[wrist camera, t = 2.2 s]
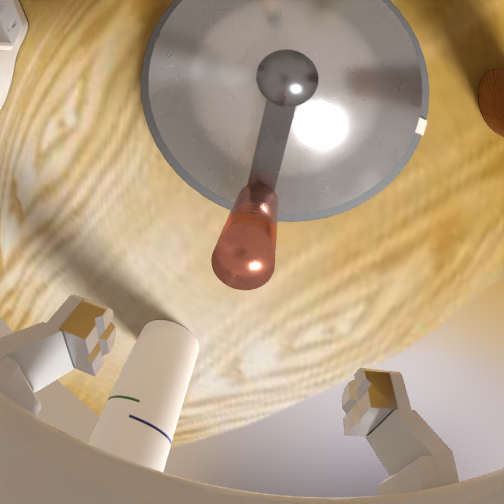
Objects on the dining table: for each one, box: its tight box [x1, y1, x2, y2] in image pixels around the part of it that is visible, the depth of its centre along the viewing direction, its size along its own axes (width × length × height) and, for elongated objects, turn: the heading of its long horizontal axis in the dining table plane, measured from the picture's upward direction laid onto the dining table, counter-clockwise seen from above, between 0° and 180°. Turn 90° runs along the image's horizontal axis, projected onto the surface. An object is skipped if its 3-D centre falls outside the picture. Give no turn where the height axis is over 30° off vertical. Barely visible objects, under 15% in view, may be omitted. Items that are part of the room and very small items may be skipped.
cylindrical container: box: [88, 320, 199, 472], centre depth 23 cm, size 7×7×25 cm
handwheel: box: [149, 0, 423, 290], centre depth 14 cm, size 19×18×10 cm
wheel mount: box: [141, 0, 429, 222], centre depth 19 cm, size 21×21×2 cm
